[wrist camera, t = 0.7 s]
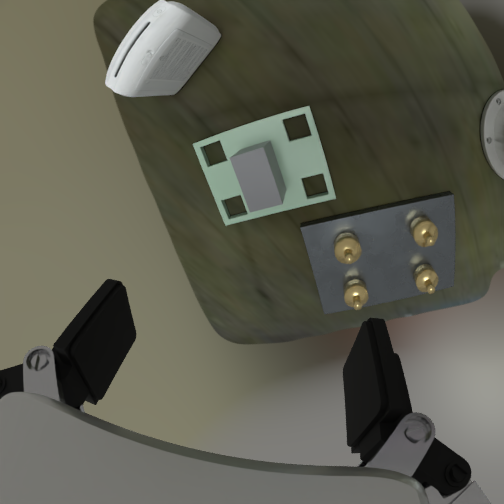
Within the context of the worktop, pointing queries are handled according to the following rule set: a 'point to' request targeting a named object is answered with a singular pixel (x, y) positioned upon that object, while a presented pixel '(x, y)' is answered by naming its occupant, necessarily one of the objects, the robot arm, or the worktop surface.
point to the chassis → (383, 252)
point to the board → (288, 158)
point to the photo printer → (161, 51)
